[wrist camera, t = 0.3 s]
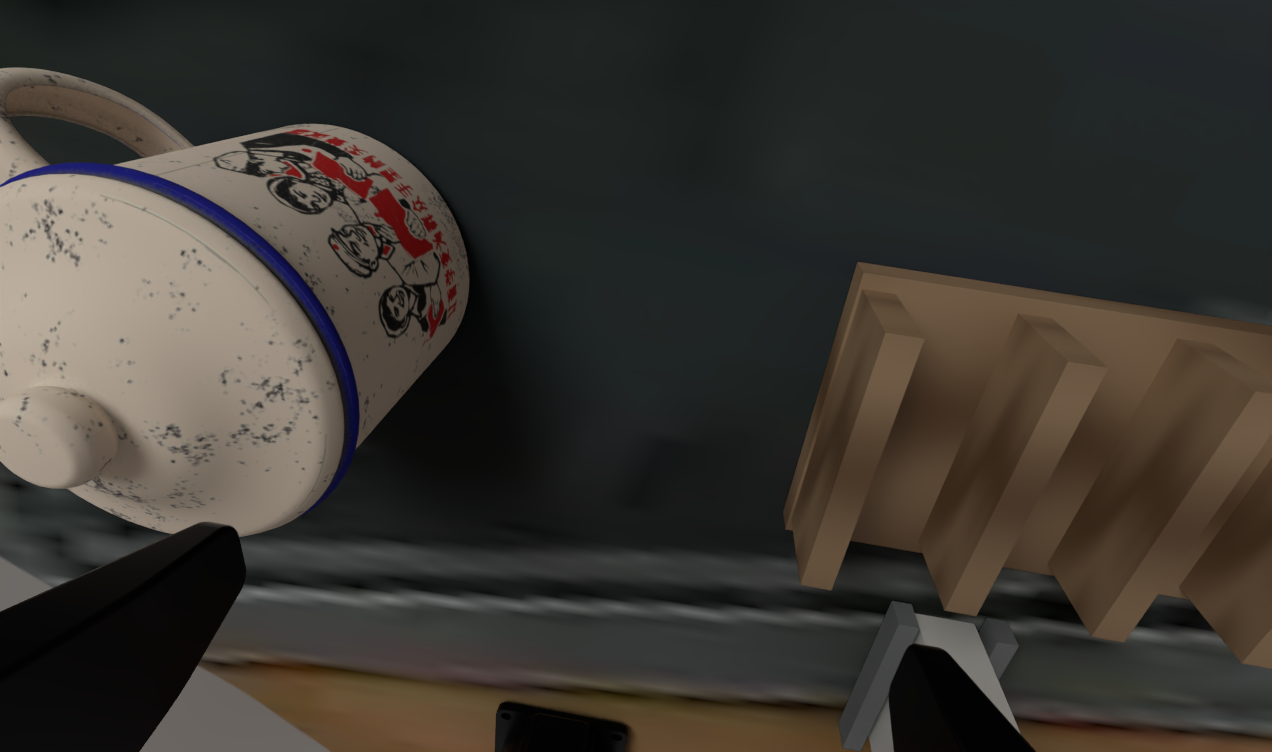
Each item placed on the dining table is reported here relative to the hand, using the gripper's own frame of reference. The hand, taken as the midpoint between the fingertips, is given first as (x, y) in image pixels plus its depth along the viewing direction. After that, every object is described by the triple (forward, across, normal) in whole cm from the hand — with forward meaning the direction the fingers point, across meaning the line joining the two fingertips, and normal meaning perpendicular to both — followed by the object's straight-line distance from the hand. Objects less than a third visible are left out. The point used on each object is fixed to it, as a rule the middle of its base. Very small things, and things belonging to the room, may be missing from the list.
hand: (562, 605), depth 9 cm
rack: (+14, -14, +4) cm, 20 cm away
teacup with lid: (+14, +11, 0) cm, 18 cm away
